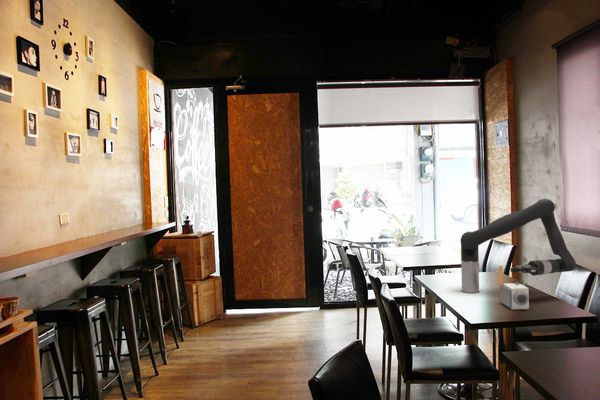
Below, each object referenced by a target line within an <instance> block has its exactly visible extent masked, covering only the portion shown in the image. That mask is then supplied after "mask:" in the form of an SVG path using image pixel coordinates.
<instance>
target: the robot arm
mask: <svg viewBox="0 0 600 400" xmlns="http://www.w3.org/2000/svg"><path fill="white" fill-rule="evenodd" d="M555 209H556V206H555V203H554V202H553V201H552V200H551V199H548V198H542V199H539V200H537V201H536V202H535V203H533V204H532V205H530V206H528V207H525V208H524V209H520V210H517V211H514V212H511V213H508V214H505V215H502V216H501V217H499V218H497V219H495V220H493V221H491V222H490V223H488V224H487V225H485V226H484V227H482V228H479V229H476V230H473V231H466V232H464V233H463V234H462V235H461V237H460V251H461V252H460V267H461V268H460V269H461V271H460V272H461V291H462V292H463V293H467V294H476V293H479V292H480V274H479V273H480V272H479V271H480V267H479V266H480V264H479V263H480V262H479V246H480V245H483V243H485V242H488V241H490V240H493V239H496V238H499V237H502V236H504V235H507V234H509V233H511V232H515V230H518V229H520V228H522V227H523V226H526V225H527V224H528V223H531V222H533V221H536V220H539V219H540V220H541V222H542V225H543V227H544V230H545V232H546V236H547V240H548V243H549V245H550V248H551V251H552V253H553V255H556V256H559V257H560V258H556V259H536V260H535V259H534V260H529V262H528V263H525V264H521V265H520V264H516V265H514V267H510V273H522V274H530V275H531V276H533V277H534V276H535V277H536V276H542V275H549V274H556V273H566V272H574V271H575V269H576V268H577V263H576V260H575V258H574V257H573V255H572V253H571V252H570V251H569V249H568V247H567V244H566V243H565V239H564V237H563V235H562V233H561V232H562V231H561V230H560V228H559V226H558V222H557V221H556V217H555Z"/></svg>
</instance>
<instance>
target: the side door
mask: <svg viewBox="0 0 600 400" xmlns="http://www.w3.org/2000/svg"><path fill="white" fill-rule="evenodd" d="M503 280H504V279H503V265H498V284H499V300H500V301H499V302H500V303H502V304H503V305H505V306H507V307H508V308H509V309H511V308H512V307H511V290H510V289H508V288H506V287H504V286H503V284H504V283H503V282H504V281H503Z"/></svg>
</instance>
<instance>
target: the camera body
mask: <svg viewBox="0 0 600 400" xmlns="http://www.w3.org/2000/svg"><path fill="white" fill-rule="evenodd" d="M521 284H522V283H520V282H517V281H516V282H512V283H509V282H508V283H503V286H504V287H506V288H508V289H510V290H511V307H512V308H510V310H529V309H530V303H529V302H530V301H529V300H530V298H529V297H530V292H529V290H530V289H529V287H528V288H527V287H525V286H523V285H521Z"/></svg>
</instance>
